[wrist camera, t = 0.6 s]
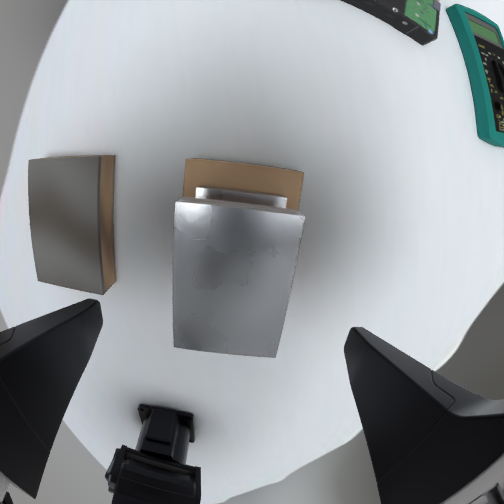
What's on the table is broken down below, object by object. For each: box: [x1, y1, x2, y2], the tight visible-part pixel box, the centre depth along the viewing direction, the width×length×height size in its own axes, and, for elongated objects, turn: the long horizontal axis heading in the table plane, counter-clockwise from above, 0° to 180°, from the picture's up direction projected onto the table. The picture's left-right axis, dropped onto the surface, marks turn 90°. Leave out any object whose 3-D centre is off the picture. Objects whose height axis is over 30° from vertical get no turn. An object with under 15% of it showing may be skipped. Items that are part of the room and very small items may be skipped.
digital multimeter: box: [446, 4, 504, 147], centre depth 13 cm, size 7×15×3 cm, turn 9°
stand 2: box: [183, 158, 304, 210], centre depth 18 cm, size 10×7×2 cm
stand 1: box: [28, 155, 116, 295], centre depth 17 cm, size 10×7×2 cm
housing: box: [173, 185, 305, 358], centre depth 14 cm, size 7×5×6 cm
